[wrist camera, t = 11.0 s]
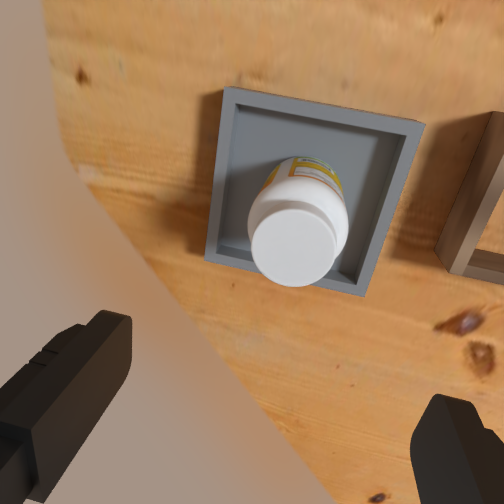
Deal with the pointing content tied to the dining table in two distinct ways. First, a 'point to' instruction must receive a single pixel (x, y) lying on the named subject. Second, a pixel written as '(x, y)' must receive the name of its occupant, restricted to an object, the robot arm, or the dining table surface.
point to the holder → (476, 211)
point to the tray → (318, 146)
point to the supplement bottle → (298, 222)
